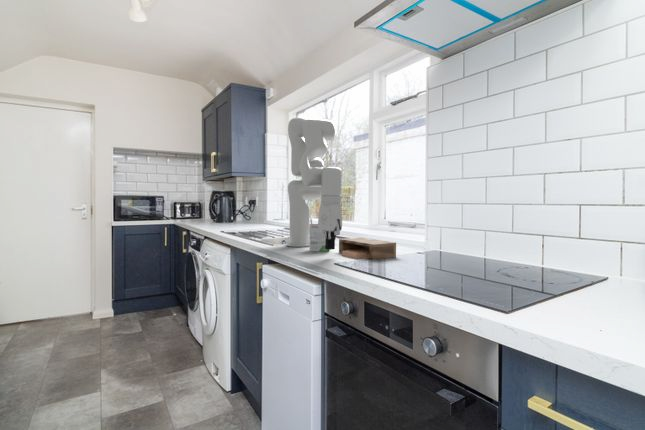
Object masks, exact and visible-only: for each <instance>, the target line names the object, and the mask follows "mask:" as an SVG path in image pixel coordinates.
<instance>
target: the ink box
mask: <svg viewBox="0 0 645 430" xmlns="http://www.w3.org/2000/svg"><path fill="white" fill-rule="evenodd" d="M325 243H326V238H325V234H324V233H323V232H322V231H321V230H320V229H319V228H318V223H309V246H308V249H309V250H308V251H309V252H322V253H323V252H326V253H328V252H330V250H327V249H325Z"/></svg>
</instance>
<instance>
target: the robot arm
mask: <svg viewBox="0 0 645 430" xmlns="http://www.w3.org/2000/svg"><path fill="white" fill-rule="evenodd" d="M335 125H336V124H335V123H334V122H333V121H332V120H331V119H329V120H328V119H321V118H307V117H294V118H292V119H290V120H289V122H288V126H287V133H288V135H287V136H288V139H289V142H290V148H291V149H290V150H291V151H290V152H291V159H290V167H291V168H290V171H291V174H292V175H293V176H295V177H298V178H299V177H301V179H293V180H291V181H290V182H288V184H287V195H288V202H289V205H288V206H289V237H288V238H287V239H288V240H289V241H288V242H286V243H285V244H286V245H285V246H288V247H293V248H295V247H296V248H300V247H301V248H302V247H309V237H310V207H309V205H308V203H307V202H306V201H307V200H308V201H309V200H313V201H316V200H320V205H319V211H318V220H317V224H318V228H319V229H320V230H321V231H322V232H323V233H324V234H325V238H326V243H325V249H327V250H329V251H330V250H335V247H336V238H337V236H339V235H340V234H341V231H342V227H343V211H342V172H343V171H342V168H340V167H335V166H328V167H325V164H324V161H323V160H322V158H320V157H322V156H323V155H326V152H327V151H328V145H327V141H332V140H334V138H335V136H336V134H337V131H336V130H337V129H336V126H335Z"/></svg>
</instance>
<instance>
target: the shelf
mask: <svg viewBox="0 0 645 430" xmlns="http://www.w3.org/2000/svg"><path fill="white" fill-rule="evenodd" d="M367 248H370V253H367V258H366V259H370V260H373V259H376V260H383V258H385V259H392V258H391V257H394V258H397V242H396V241H395V242H393V241H388V240H379V239H373V238H365V237H350V238H339V239H338V252H339V253H341V254H342V251H346V250H357V249H367Z"/></svg>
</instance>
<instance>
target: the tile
mask: <svg viewBox="0 0 645 430" xmlns="http://www.w3.org/2000/svg"><path fill="white" fill-rule="evenodd" d="M367 253H370V248H367V249H357V250H346V251H342V253H341V256H343V257H347V258H352V259H355V260H358V259H368V258H367Z"/></svg>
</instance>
